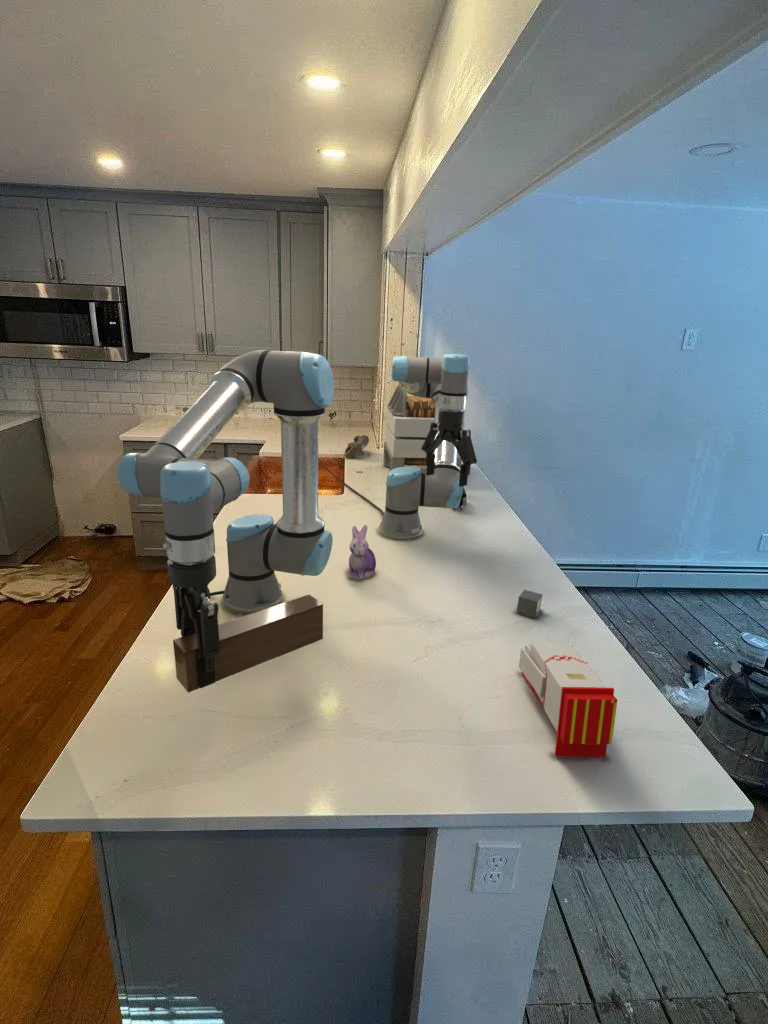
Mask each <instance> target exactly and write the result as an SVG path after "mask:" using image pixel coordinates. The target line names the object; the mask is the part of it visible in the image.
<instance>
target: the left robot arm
mask: <svg viewBox="0 0 768 1024" xmlns="http://www.w3.org/2000/svg"><path fill="white" fill-rule="evenodd" d="M334 394H335V382H334V375H333V371H332V368H331V365H330V363H329V361H328V359H326V358H325V357H324V356H323V355H322V354H320V353H319V354H318V353H312V352H307V351H288V350H286V351H285V350H269V349H257V350H252V351H248V352H246V353H244V354H242V355H240V356H238V357H237V356H236V358H233V359H232V360H230V361H229V362H227V363H226V364H224V365H223V366H222V367H221V368H220V369H219V370H217V371H216V372H215V373H214V374H213V376H212V377H211V379H210V383H209V387H208V388H207V389H206V390H205V391H204V392H203V393H202V394H201V395H200V396H199V397H198V398H197V399H196V400H195V401H194V402H193V403H192V404H191V406H189V408H188V409H187V410H186V411H185V412H184V413H183V414H181V416H180V417H179V418H178V419H176V421H175V422H174V423H173V424H172V425H171V426H170V427H169V428H168V429H167V430H166V431H165V432H164V434H163V435H161V437H160V438H159V439H158V440H157V441H156V442H154V444H153V445H152V446H151V447H149V449H148V450H147V451H146V452H145V453H143V452H130V453H127V454H125V455H124V456H123V457H122V458H121V459H120V460H119V463H118V466H117V470H116V474H117V475H116V477H117V481H118V484H119V486H120V488H121V489H122V490H123V491H124V492H125V493H128V494H132V495H136V496H142V497H146V498H147V497H148V498H157V499H161V507H162V516H163V522H164V537H165V542H164V543H163V544H162V547H163V549H164V550H166V557H167V558H168V559H167V562H166V563H167V574H168V580H169V582H170V583H171V585H172V590H173V598H174V610H175V624H176V629H177V630H178V631H180V635H181V636H180V637H183V636H186V635H189V634H192V633H196V639H197V645H198V650H199V653H198V654H195V657H196V659H197V666H198V680H199V687H200V688H199V689H203V688H205V687H208V686H211V685H213V684H216V682H217V681H215V665H214V656H215V655H218V654H220V643H219V629H218V625H219V617H218V615H219V608H220V607H219V604H218V602H213V603H212V601H211V597H213V596H220V595H222V603H223V607H224V608H225V609H226V610H227V611H230V612H232V613H235V614H239V615H249V614H252V613H255V612H258V611H261V610H264V609H267V608H270V607H273V606H276V605H279V604H282V601H283V591H282V585H281V582H279V580H278V578H277V575H276V573H275V571H276V572H280V573H287V574H293V575H294V574H295V575H301V576H303V577H304V576H308V577H310V576H311V577H317V576H319V575H321V574H322V573H323V572H324V570H325V569H326V567H327V565H328V562H329V559H330V557H331V553H332V549H333V540H334V539H333V537H334V536H333V533H332V532H331V531H329V530H325V520H324V519H323V518H321V516H319V460H318V458H319V421H320V419H321V418H322V417H323V416H324V415H325V414H326V408H329V407H331V405H332V403H333V400H334ZM253 403H266V404H267V403H268V404H273V414H274V415H275V416H276V417H277V418H278V419H279V420H280V443H281V445H280V446H281V447H280V448H281V484H282V485H281V487H282V516H283V517H282V516H281V518H279V519H278V521H277V522H276V523H277V525H276V523H275V520H274V518H273V516H272V515H269V514H264V513H257V514H248V515H244V516H240V517H238V518H235V519H233V520H232V521H230V522H229V523H228V525H227V528H226V539H225V541H226V548H227V550H226V551H227V566H228V578H227V581H226V584H225V587H224V589H223V590H218V591H213V592H211V591H210V588H209V585H210V583H211V582H212V581H213V580H214V579H215V578H216V576H217V564H216V563H217V561H216V556H215V554H216V540H215V539H216V538H215V529H214V513H215V512H217V511H218V510H220V509H222V508H223V507H225V506H226V505H229V504H230V503H232V502H234V501H237V500H238V499H239V497H240V496H241V495H243V494H245V492H246V491H247V490H248V488H249V485H250V479H251V478H250V473H249V470H248V468H247V467H246V465H245V464H244V463H243V462H242V461H240V460H239V459H237V458H235V457H230V456H227V457H220V458H217V459H215V461H214V460H201V459H199V458H200V456H202V454H203V453H204V452H205V451H206V449H207V448H208V447H209V446H210V445H211V444H212V442H213V441H214V440H215V439H216V438H217V436H218V435H219V434H220V433H221V431H222V430H224V428H225V427H226V426H227V424H228V423H229V422H230V421H231V420H232V418H233V417H234V416H235V415H236V414H237V412H238V411H243V410H246V409H247V408H248V407H249V406H250V404H253Z"/></svg>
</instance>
